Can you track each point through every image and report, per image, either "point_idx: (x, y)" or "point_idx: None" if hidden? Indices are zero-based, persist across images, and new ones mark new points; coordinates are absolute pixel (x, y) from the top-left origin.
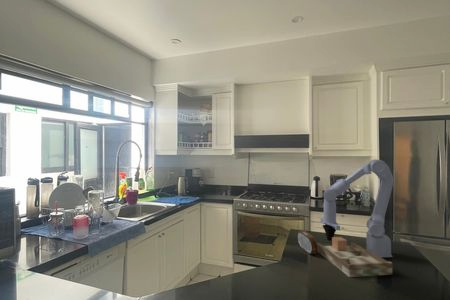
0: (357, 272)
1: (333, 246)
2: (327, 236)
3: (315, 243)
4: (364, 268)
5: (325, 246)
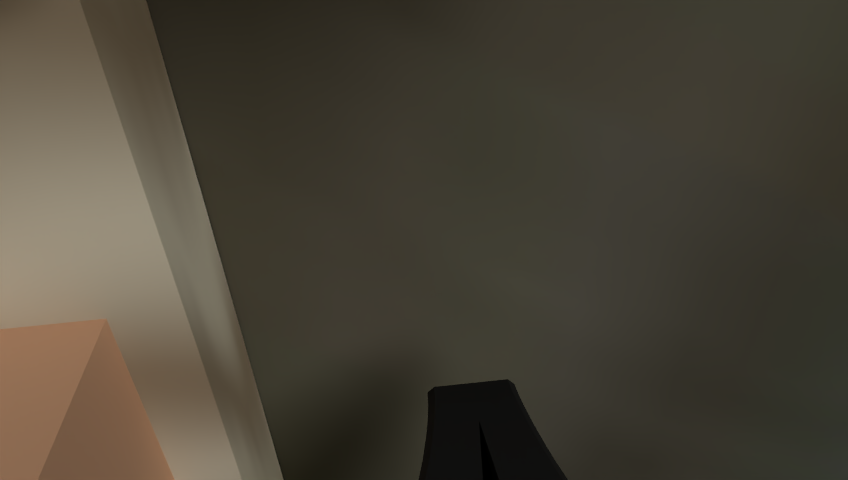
0: None
1: (22, 350)
2: (465, 470)
3: None
4: None
5: (86, 150)
